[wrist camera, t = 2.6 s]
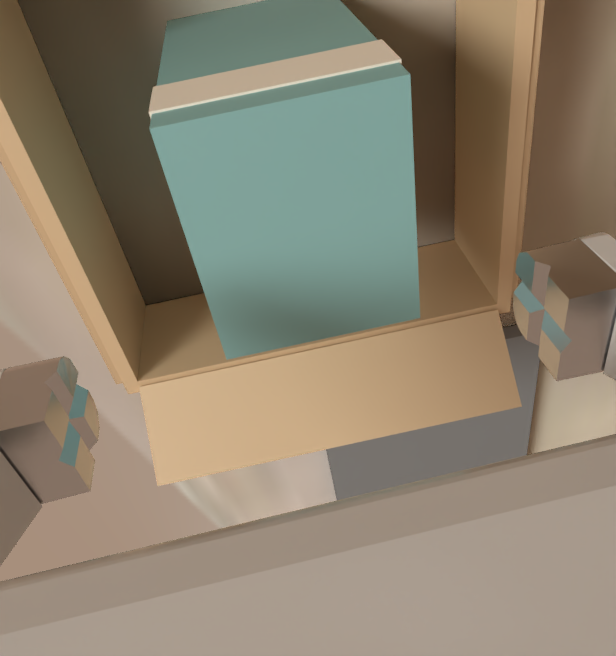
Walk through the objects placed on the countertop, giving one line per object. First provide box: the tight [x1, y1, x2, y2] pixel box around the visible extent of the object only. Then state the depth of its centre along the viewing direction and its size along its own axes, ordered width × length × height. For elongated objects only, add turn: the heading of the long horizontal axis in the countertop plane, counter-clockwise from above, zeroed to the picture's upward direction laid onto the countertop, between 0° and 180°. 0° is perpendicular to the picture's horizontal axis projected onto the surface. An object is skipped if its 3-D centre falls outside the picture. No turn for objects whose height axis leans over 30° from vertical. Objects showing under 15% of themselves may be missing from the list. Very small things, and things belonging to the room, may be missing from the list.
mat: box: [326, 325, 540, 501], centre depth 31 cm, size 11×11×1 cm
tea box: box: [149, 0, 420, 360], centre depth 16 cm, size 5×6×9 cm
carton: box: [0, 0, 545, 486], centre depth 17 cm, size 14×20×7 cm
